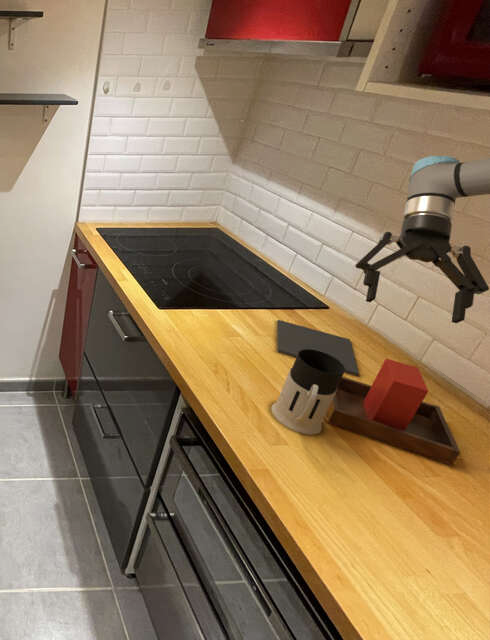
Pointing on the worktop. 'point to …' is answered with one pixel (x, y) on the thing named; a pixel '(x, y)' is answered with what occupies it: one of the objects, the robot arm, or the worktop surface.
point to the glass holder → (308, 391)
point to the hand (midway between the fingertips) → (412, 310)
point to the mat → (315, 344)
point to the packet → (395, 394)
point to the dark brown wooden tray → (419, 437)
